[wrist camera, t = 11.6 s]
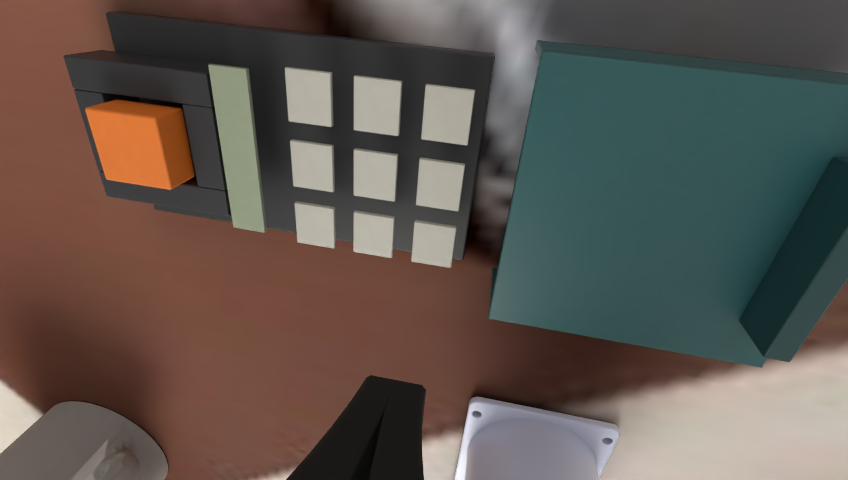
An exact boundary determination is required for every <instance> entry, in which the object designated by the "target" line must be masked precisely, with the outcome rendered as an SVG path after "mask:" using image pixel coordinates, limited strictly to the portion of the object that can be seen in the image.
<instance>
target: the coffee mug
mask: <svg viewBox="0 0 848 480" xmlns="http://www.w3.org/2000/svg"><path fill="white" fill-rule="evenodd" d="M167 473H168V463H167V460H166V457H165V455H164V453H163V451H162V450H161V448H160V447H159V446H158V444H157V443H156V442H155V441H154V440H153V439H152V438H151V437H150V436H149V435H148V434H147V433H146V432H145V431H144V430H143V429H141V428H140V427H139V426H137V425H136V424H134V423H133V422H131V421H130V420H128V419H127V418H125V417H123V416H121V415H119V414H117V413H115V412H114V411H112V410H109V409H107V408H104V407H101V406H98V405H94V404H90V403H86V402H78V401H68V402H62V403H59V404H57V405H55V406H53V407H52V408H51V409H50V410H49V411H48V412H46V413H45V414H44V415H43V416H42V417H41V418H40V419H39V420H38V421H36V422H35V423H34V424H33V425H32V426H31V427H30V428H29V429H27V430H26V431H25V432H24V433H23V434H22V435H21V436H20V437H19V438H17V439H16V440H15V441H14V442H13V443H12V444H11V445H10V446H9V447H7V448H6V449H5V450H4V451H3V452H2V453H1V454H0V480H164V479H165V477H166V476H167Z"/></svg>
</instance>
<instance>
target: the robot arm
mask: <svg viewBox="0 0 848 480" xmlns="http://www.w3.org/2000/svg"><path fill="white" fill-rule="evenodd" d="M425 394H426V389H425V388H424V387H423V386H422V385H418V384H413V383H408V382H403V381H398V380H392V379H387V378H382V377H377V376H372V375H371V376H369V377H367V378H366V379H365V381H364V382H363V384H362V385H361V387H360V388H359V390H358V391H357V393H356V394H355V396H354V397H353V399H352V400H351V401H350V403H349V404H348V406H347V407H346V408H345V410H344V411H343V412H342V414H341V415H340V416H339V418H338V419H337V420H336V421H335V423H334V424H333V425H332V427H331V428H330V429H329V430H328V431H327V433H326V434H325V435H324V436H323V438H322V439H321V440H320V441H319V442H318V444H317V445H316V446H315V447H314V449H313V450H312V451H311V452H310V453H309V455H308V456H307V457H306V458H305V459H304V460H303V461H302V462H301V464H300V465H299V466H298V467H297V468H296V469H295V470H294V471H293V472H292V474H291V475H290V476H289V477H288V478H287V479H286V480H424V475H423V461H422V423H423V413H424V404H425ZM476 411H479V412H476ZM619 437H620V432H619V428H618V426H616V425H615V424H612V423H608V422H603V421H598V420H593V419H588V418H583V417H578V416H573V415H568V414H563V413H558V412H553V411H548V410H543V409H538V408H533V407H528V406H523V405H518V404H513V403H508V402H503V401H498V400H493V399H488V398H483V397H473V398H472V399H471V400H470V402H469V407H468V412H467V417H466V422H465V427H464V432H463V437H462V442H461V447H460V452H459V457H458V462H457V467H456V472H455V477H454V480H599V478H600V476H601V474H602V472H603V470H604V468H605V466H606V464H607V462H608V459H609V457H610V455H611V453H612V451H613V449H614V447H615V445H616V443H617V441H618V439H619Z"/></svg>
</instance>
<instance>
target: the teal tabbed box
mask: <svg viewBox="0 0 848 480" xmlns="http://www.w3.org/2000/svg"><path fill="white" fill-rule="evenodd" d="M535 49H536V52H537V54H538V57H539V65H538V70H537V75H536V80H535V85H534V90H533V95H532V100H531V105H530V110H529V115H528V120H527V125H526V130H525V134H524V139H523V144H522V149H521V154H520V159H519V164H518V169H517V174H516V179H515V184H514V189H513V194H512V199H511V204H510V209H509V214H508V219H507V224H506V229H505V234H504V239H503V244H502V249H501V254H500V259H499V264H498V268H493V270H492V278H491V291H490V303H489V316H488V318H489V319H494V320H499V321H505V322H510V323H516V324H522V325H527V326H533V327H538V328H544V329H549V330H555V331H561V332H566V333H572V334H577V335H583V336H588V337H594V338H599V339H605V340H611V341H616V342H622V343H627V344H633V345H638V346H644V347H650V348H655V349H661V350H666V351H672V352H677V353H683V354H688V355H694V356H700V357H705V358H711V359H716V360H722V361H727V362H733V363H739V364H744V365H750V366H755V367H762V366H763V365H764V363H765V362H766V360H767V359H774V360H780V361H785V362H790V361H791V360H792V358H793V357H794V355H795V354H796V353H797V351H798V350H799V348H800V347H801V345H802V344H803V343H804V341H805V340H806V338H807V337H808V335H809V334H810V332H811V331H812V330H813V328H814V327H815V325H816V324H817V322H818V321H819V319H820V318H821V317H822V315H823V314H824V312H825V311H826V309H827V308H828V306H829V305H830V304H831V302H832V301H833V299H834V298H835V296H836V295H837V294H838V292H839V291H840V289H841V288H842V286H843V285H844V283H845V282H846V281H847V279H848V73H840V72H831V71H821V70H812V69H803V68H793V67H784V66H775V65H765V64H756V63H746V62H737V61H728V60H718V59H709V58H700V57H690V56H681V55H672V54H662V53H653V52H644V51H634V50H625V49H615V48H606V47H597V46H587V45H578V44H569V43H559V42H550V41H541V40H537V43H536V48H535Z"/></svg>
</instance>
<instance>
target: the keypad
mask: <svg viewBox="0 0 848 480" xmlns="http://www.w3.org/2000/svg"><path fill="white" fill-rule="evenodd" d="M208 67H209V73H210V80H211V86H212V93H213V99H214V106H215V112H216V119H217V125H218V131H219V138H220V144H221V151H222V157H223V164H224V170H225V177H226V183H227V189H228V196H229V202H230V209H231V215H232V222H233V227H234V228H240V229H246V230H252V231H258V232H266V231H267V228H266V219H265V210H264V201H263V192H262V183H261V174H260V165H259V156H258V147H257V138H256V129H255V120H254V112H253V103H252V94H251V85H250V76H249V69H248V68H242V67H233V66H225V65H217V64H209V65H208ZM285 79H286V92H287V106H288V120H289V121H291V122H298V123H306V124H313V125H320V126H328V127H332V126H333V90H332V72H325V71H317V70H308V69H300V68H292V67H286V68H285ZM474 96H475V90H473V89H465V88H457V87H448V86H440V85H432V84H426V85H425V98H424V110H423V123H422V135H421V139H423V140H431V141H438V142H445V143H453V144H460V145H468V140H469V132H470V125H471V118H472V110H473V103H474ZM401 97H402V81H399V80H391V79H382V78H374V77H366V76H358V75H355V76H354V130H357V131H364V132H372V133H379V134H387V135H394V136H399V133H400V115H401ZM290 147H291V161H292V175H293V186H295V187H302V188H308V189H315V190H322V191H328V192H334V191H335V181H334V145H329V144H322V143H315V142H308V141H301V140H294V139H292V140H290ZM397 169H398V154H393V153H386V152H379V151H372V150H365V149H358V148H355V149H354V196H361V197H367V198H374V199H380V200H387V201H393V202H395V200H396V188H397ZM464 169H465V164H464V163H457V162H450V161H443V160H436V159H429V158H422V157H421V158H420V160H419V172H418V185H417V197H416V205H419V206H426V207H432V208H439V209H445V210H452V211H459V206H460V198H461V191H462V184H463V176H464ZM295 216H296V229H297V242H299V243H305V244H311V245H317V246H323V247H329V248H335V247H336V227H335V207H331V206H325V205H318V204H312V203H306V202H299V201H296V202H295ZM394 224H395V217H394V216H388V215H382V214H375V213H369V212H363V211H356V210H355V211H354V252H359V253H365V254H371V255H376V256H382V257H388V258H392V256H393V242H394ZM456 228H457V227H456V226H452V225H445V224H439V223H433V222H426V221H420V220H415V222H414V234H413V246H412V259H411V261H412V262H418V263H424V264H430V265H436V266H442V267H448V268H451V264H452V257H453V250H454V242H455V235H456Z"/></svg>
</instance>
